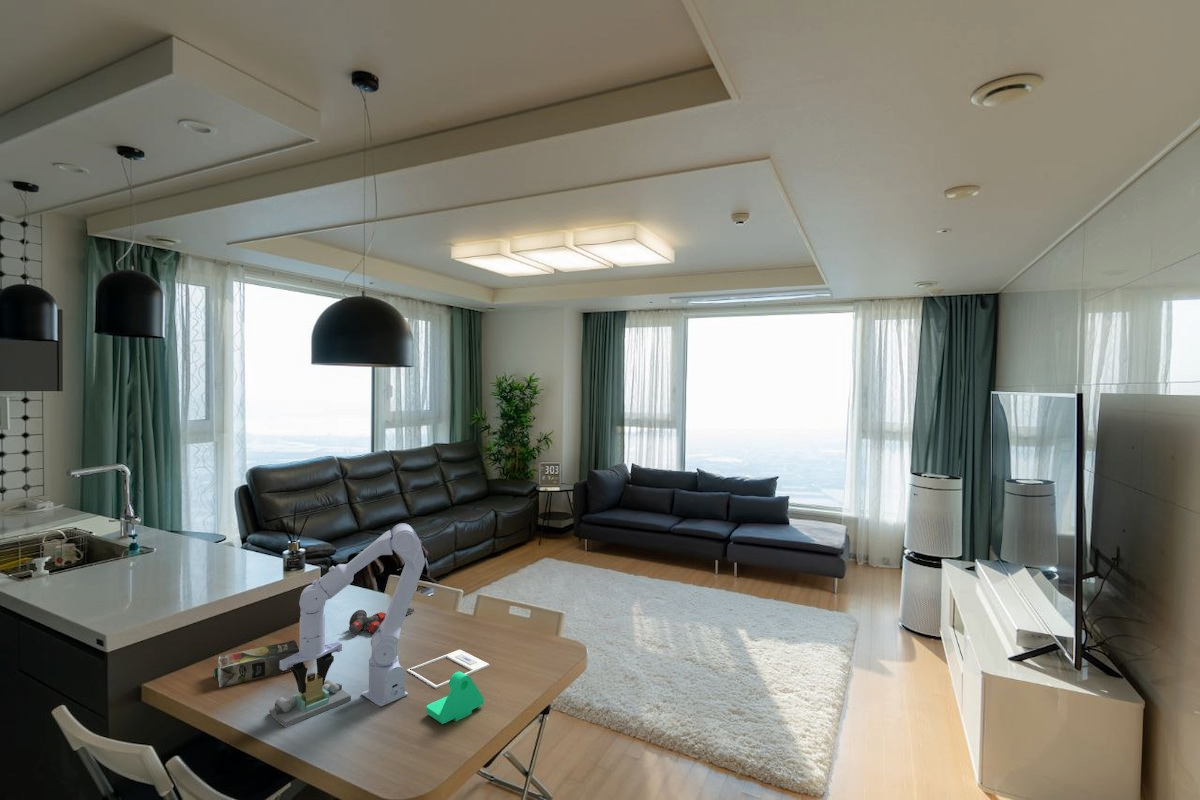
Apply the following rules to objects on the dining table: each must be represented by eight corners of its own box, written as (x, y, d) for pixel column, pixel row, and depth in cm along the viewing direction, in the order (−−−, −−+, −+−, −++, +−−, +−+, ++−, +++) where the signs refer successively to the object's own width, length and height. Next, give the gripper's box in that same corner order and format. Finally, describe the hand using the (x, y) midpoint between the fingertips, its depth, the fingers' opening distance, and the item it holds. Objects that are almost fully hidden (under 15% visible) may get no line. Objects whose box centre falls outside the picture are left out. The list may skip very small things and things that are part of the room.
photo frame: (489, 663, 167) (435, 686, 153) (489, 667, 167) (435, 690, 153) (459, 648, 176) (406, 668, 163) (459, 652, 176) (406, 672, 163)
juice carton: (214, 690, 151) (215, 667, 151) (213, 676, 159) (214, 654, 159) (299, 671, 162) (300, 649, 163) (294, 658, 170) (294, 638, 170)
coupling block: (322, 701, 143) (322, 674, 143) (305, 707, 140) (306, 680, 140) (314, 695, 146) (315, 669, 146) (298, 702, 143) (299, 675, 143)
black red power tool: (367, 650, 180) (338, 633, 187) (429, 626, 203) (400, 612, 210) (371, 631, 180) (341, 614, 187) (432, 609, 203) (403, 595, 210)
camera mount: (465, 697, 149) (466, 658, 149) (483, 708, 144) (484, 667, 144) (424, 716, 140) (425, 674, 140) (442, 728, 135) (443, 685, 135)
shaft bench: (350, 700, 146) (351, 686, 146) (285, 727, 134) (285, 712, 134) (333, 688, 152) (334, 675, 152) (269, 713, 140) (269, 699, 140)
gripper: (333, 621, 151) (332, 672, 151) (274, 639, 140) (273, 694, 140) (346, 628, 147) (345, 681, 147) (287, 647, 135) (286, 704, 135)
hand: (311, 688), depth 143 cm, fingers closed on coupling block, 4 cm apart
